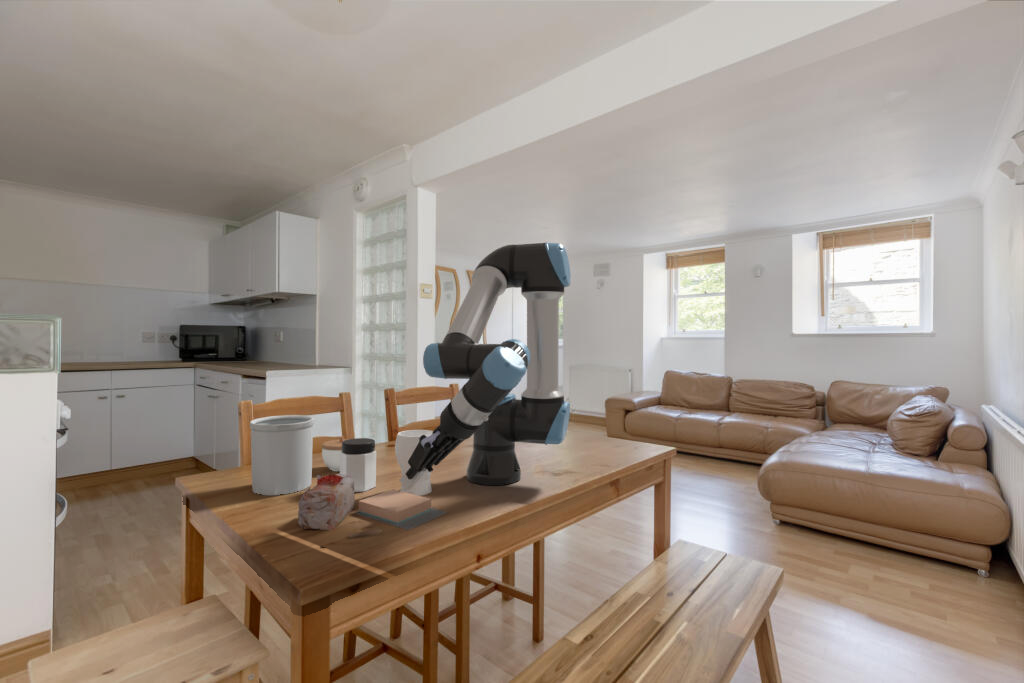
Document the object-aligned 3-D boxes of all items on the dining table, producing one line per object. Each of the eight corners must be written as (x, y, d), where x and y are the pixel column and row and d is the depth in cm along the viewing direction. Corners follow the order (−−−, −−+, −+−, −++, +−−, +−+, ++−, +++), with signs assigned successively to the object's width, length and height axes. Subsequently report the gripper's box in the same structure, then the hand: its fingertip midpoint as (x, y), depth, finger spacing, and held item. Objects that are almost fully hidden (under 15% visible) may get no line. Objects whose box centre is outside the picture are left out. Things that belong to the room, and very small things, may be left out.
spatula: (380, 532, 93) (380, 527, 93) (382, 539, 89) (382, 533, 89) (320, 541, 88) (320, 536, 88) (320, 549, 85) (320, 543, 85)
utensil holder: (284, 499, 111) (285, 425, 112) (234, 493, 115) (235, 422, 116) (325, 482, 126) (326, 416, 126) (279, 477, 130) (280, 413, 130)
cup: (413, 503, 110) (414, 439, 110) (385, 494, 116) (386, 433, 116) (446, 492, 118) (447, 432, 118) (418, 484, 124) (418, 427, 125)
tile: (431, 498, 104) (393, 489, 110) (397, 512, 95) (358, 500, 102) (431, 509, 104) (393, 499, 110) (397, 523, 95) (358, 512, 102)
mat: (448, 514, 102) (448, 512, 102) (407, 532, 92) (408, 529, 92) (396, 500, 111) (396, 498, 111) (354, 516, 101) (354, 513, 101)
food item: (335, 535, 91) (336, 484, 91) (294, 535, 91) (295, 484, 91) (357, 510, 105) (358, 466, 105) (321, 510, 105) (322, 466, 105)
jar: (380, 489, 120) (380, 442, 120) (348, 495, 115) (349, 446, 115) (366, 480, 127) (367, 436, 127) (336, 486, 122) (336, 440, 122)
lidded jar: (316, 473, 133) (316, 440, 134) (327, 464, 144) (328, 433, 144) (354, 473, 134) (355, 440, 134) (363, 464, 145) (363, 433, 145)
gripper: (454, 432, 85) (389, 507, 94) (496, 423, 96) (435, 491, 105) (432, 401, 88) (372, 476, 97) (476, 395, 99) (418, 464, 108)
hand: (405, 484), depth 101 cm, fingers closed
